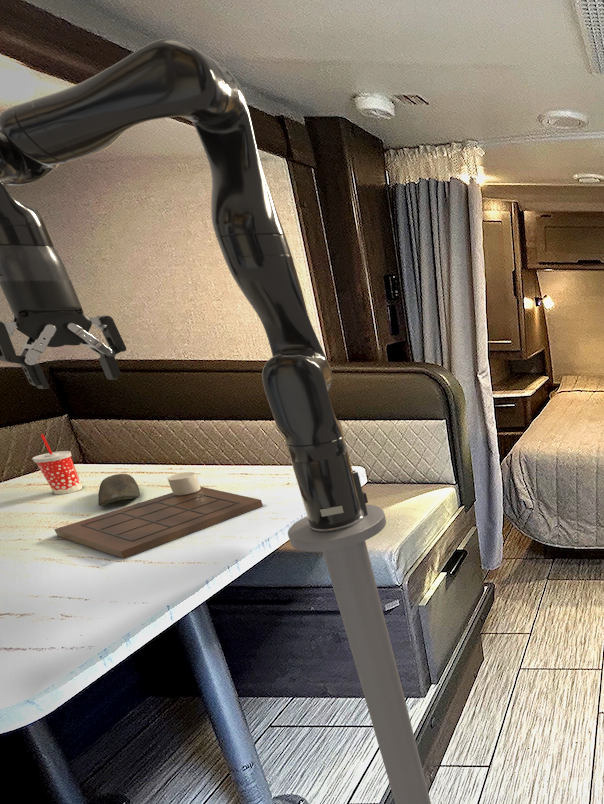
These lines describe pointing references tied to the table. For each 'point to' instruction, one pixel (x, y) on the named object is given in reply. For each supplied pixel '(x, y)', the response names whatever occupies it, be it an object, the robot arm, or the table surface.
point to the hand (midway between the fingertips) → (80, 383)
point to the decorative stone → (117, 489)
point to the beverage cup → (58, 470)
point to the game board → (156, 521)
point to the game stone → (184, 483)
